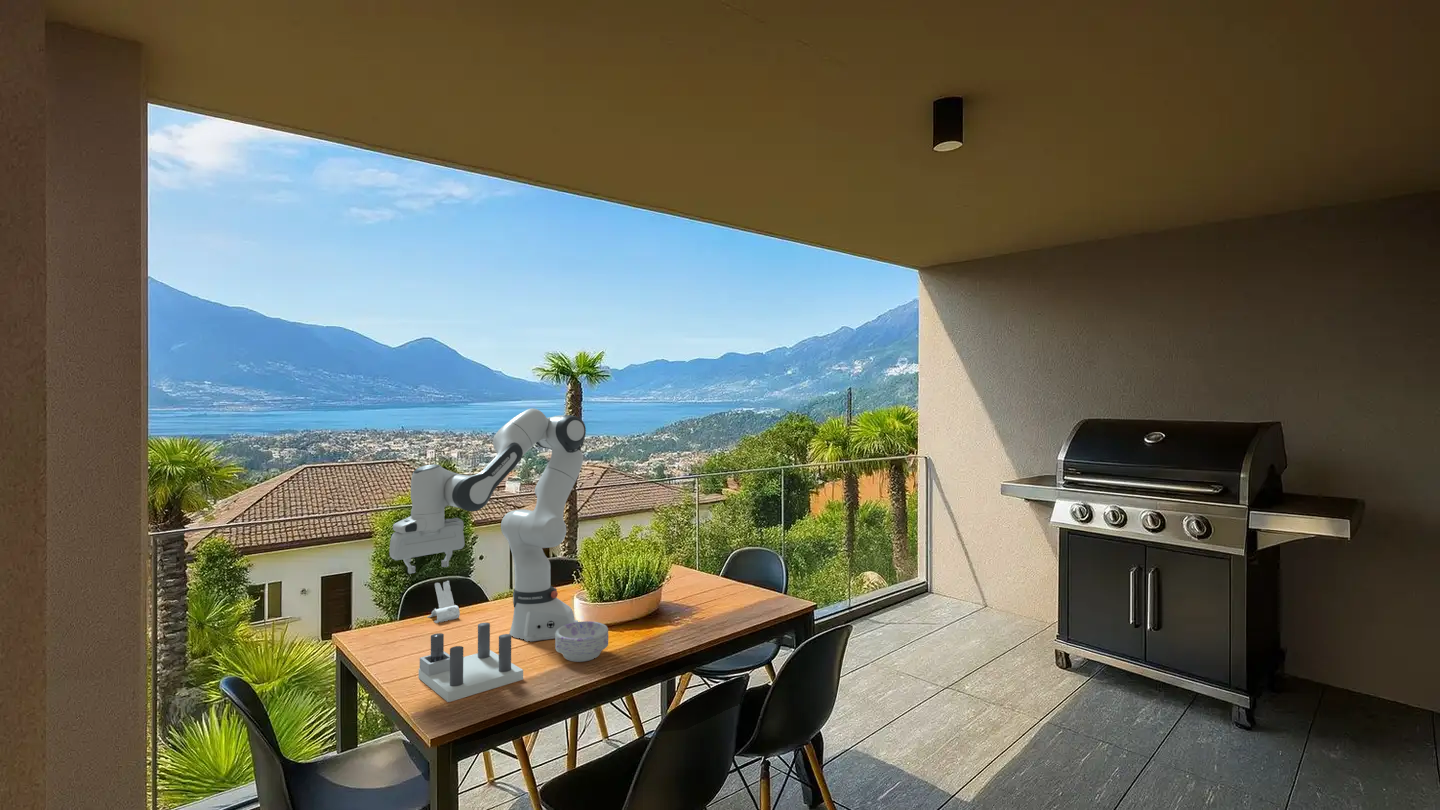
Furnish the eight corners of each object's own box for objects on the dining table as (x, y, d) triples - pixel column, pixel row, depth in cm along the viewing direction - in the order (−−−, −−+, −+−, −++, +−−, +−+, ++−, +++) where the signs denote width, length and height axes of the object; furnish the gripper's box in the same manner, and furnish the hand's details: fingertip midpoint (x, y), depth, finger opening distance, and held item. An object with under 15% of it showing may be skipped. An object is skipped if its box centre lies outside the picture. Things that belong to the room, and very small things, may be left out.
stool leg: (444, 666, 179) (444, 633, 179) (442, 670, 176) (442, 637, 176) (432, 667, 179) (432, 633, 179) (429, 671, 176) (429, 637, 176)
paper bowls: (560, 669, 183) (560, 641, 183) (551, 651, 197) (551, 624, 197) (614, 661, 189) (614, 633, 190) (601, 644, 203) (601, 618, 203)
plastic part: (437, 624, 221) (437, 589, 221) (426, 617, 228) (426, 583, 228) (459, 619, 227) (459, 585, 227) (447, 612, 234) (447, 579, 234)
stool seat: (490, 658, 191) (490, 618, 191) (523, 679, 177) (523, 636, 177) (418, 678, 177) (418, 635, 177) (448, 702, 163) (448, 655, 163)
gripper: (458, 515, 200) (459, 561, 200) (386, 525, 185) (387, 574, 185) (468, 518, 195) (468, 564, 195) (395, 528, 181) (395, 578, 181)
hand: (428, 569), depth 190 cm, fingers open, 8 cm apart
